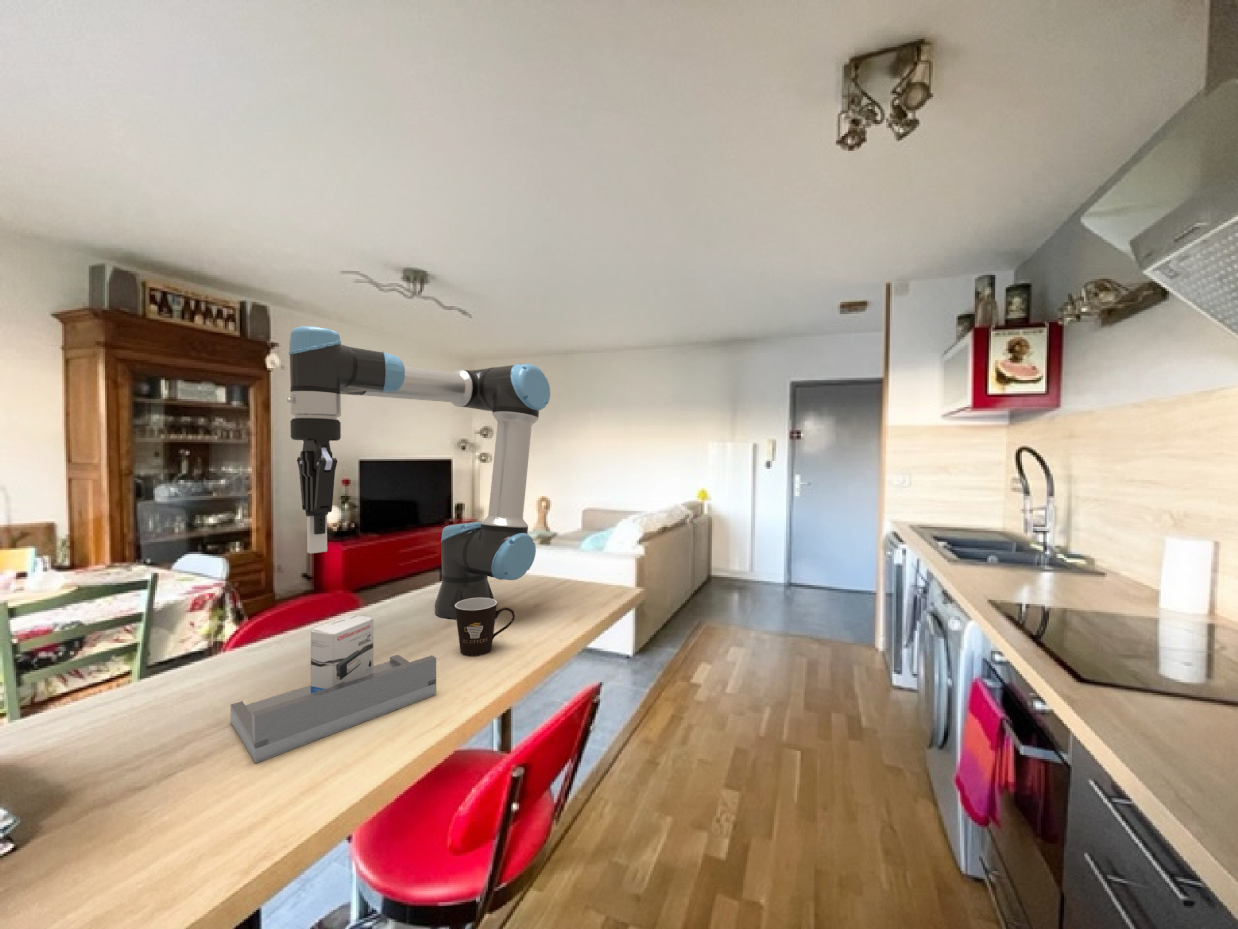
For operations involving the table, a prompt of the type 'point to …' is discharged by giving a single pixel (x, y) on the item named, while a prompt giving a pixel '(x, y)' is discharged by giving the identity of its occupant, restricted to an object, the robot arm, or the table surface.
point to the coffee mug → (477, 625)
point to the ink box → (341, 651)
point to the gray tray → (331, 707)
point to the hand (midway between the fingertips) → (317, 551)
